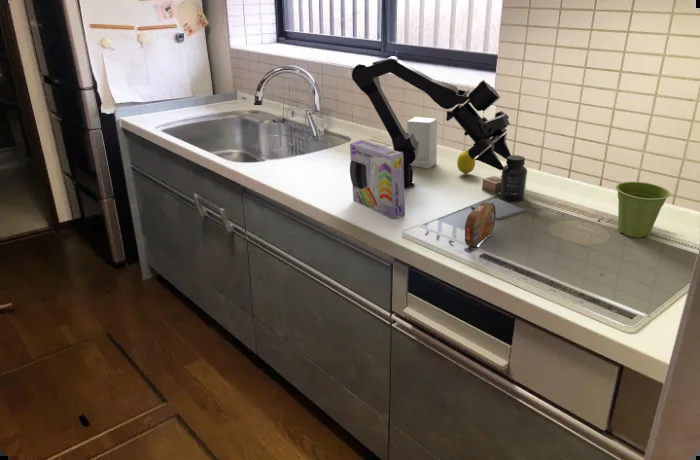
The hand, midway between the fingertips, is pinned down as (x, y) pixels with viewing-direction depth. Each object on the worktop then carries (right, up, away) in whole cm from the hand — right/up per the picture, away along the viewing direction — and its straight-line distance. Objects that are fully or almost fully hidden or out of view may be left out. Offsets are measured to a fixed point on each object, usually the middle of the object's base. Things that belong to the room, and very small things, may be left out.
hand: (507, 164), depth 165 cm
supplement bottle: (+2, -9, +3) cm, 10 cm away
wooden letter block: (-1, -7, +9) cm, 11 cm away
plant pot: (+26, -19, -20) cm, 38 cm away
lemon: (-7, -1, +22) cm, 24 cm away
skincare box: (-20, +3, +32) cm, 38 cm away
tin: (-13, -21, -22) cm, 33 cm away
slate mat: (-4, -13, -5) cm, 14 cm away
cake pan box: (-37, -12, -2) cm, 39 cm away
